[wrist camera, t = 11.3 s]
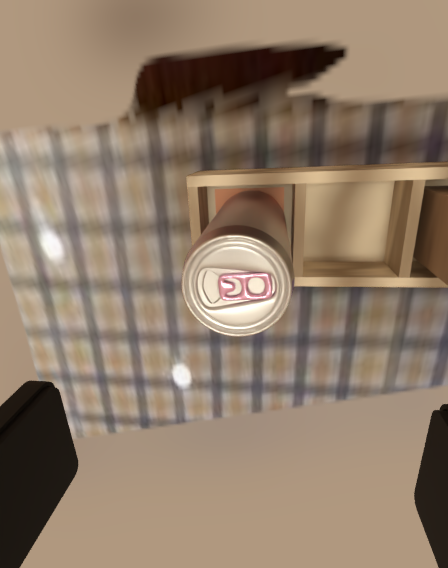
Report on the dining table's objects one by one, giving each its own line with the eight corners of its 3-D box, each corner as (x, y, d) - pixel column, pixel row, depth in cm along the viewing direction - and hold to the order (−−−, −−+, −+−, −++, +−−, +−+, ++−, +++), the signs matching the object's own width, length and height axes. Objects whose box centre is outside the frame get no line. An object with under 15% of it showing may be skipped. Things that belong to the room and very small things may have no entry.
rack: (512, 159, 28) (559, 162, 23) (485, 269, 31) (521, 291, 27) (199, 171, 31) (186, 176, 27) (205, 269, 35) (195, 288, 30)
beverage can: (286, 253, 32) (297, 339, 18) (222, 257, 33) (186, 341, 19) (283, 186, 30) (294, 226, 16) (214, 192, 31) (168, 235, 17)
